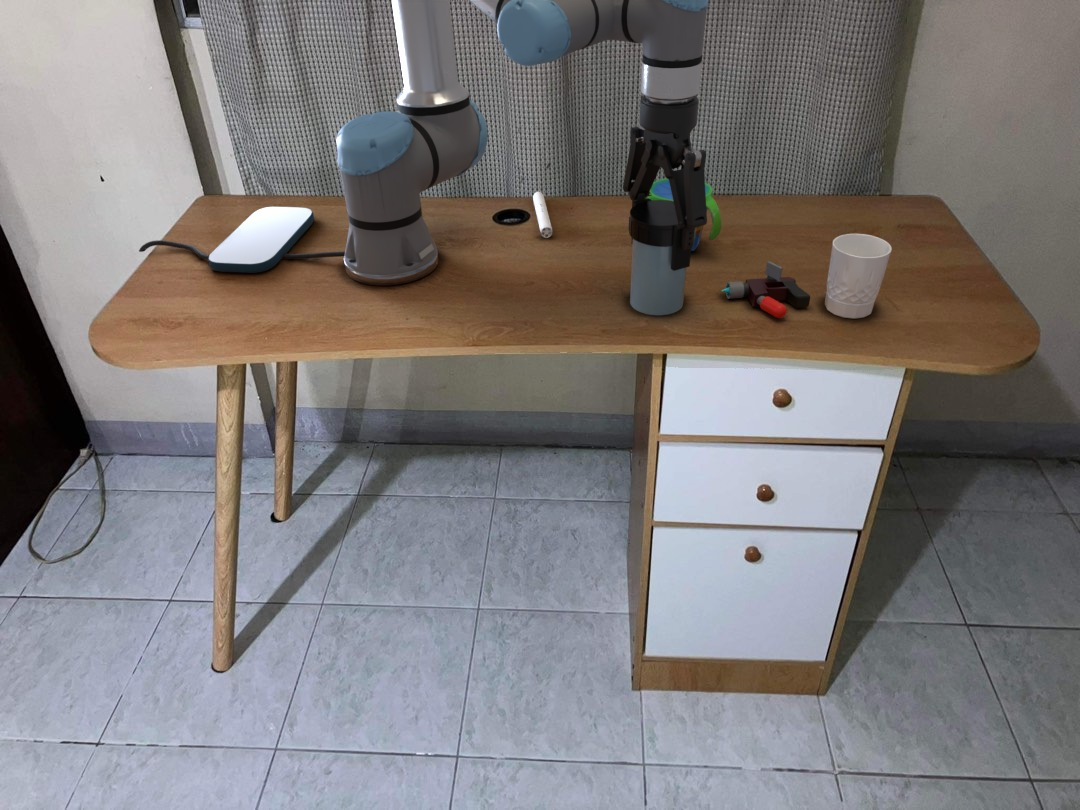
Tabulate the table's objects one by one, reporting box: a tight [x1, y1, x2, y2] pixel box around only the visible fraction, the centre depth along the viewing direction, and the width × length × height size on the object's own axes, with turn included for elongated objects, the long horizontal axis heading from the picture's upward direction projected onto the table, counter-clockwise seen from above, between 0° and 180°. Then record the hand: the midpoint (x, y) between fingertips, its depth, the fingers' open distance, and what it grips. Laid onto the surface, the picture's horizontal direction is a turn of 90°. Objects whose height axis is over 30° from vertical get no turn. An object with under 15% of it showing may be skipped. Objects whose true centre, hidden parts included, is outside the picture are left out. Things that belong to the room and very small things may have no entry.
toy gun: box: [720, 260, 811, 319], centre depth 122 cm, size 10×12×5 cm
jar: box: [629, 239, 687, 316], centre depth 121 cm, size 8×8×14 cm
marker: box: [532, 191, 553, 239], centre depth 151 cm, size 18×2×2 cm, turn 5°
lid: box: [628, 200, 687, 246], centre depth 118 cm, size 9×9×3 cm
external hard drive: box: [207, 206, 315, 274], centre depth 145 cm, size 24×12×2 cm, turn 172°
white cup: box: [824, 233, 893, 320], centre depth 119 cm, size 8×8×10 cm
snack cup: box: [645, 177, 722, 252], centre depth 138 cm, size 16×10×10 cm
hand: (659, 254), depth 121 cm, fingers closed on lid, 9 cm apart
